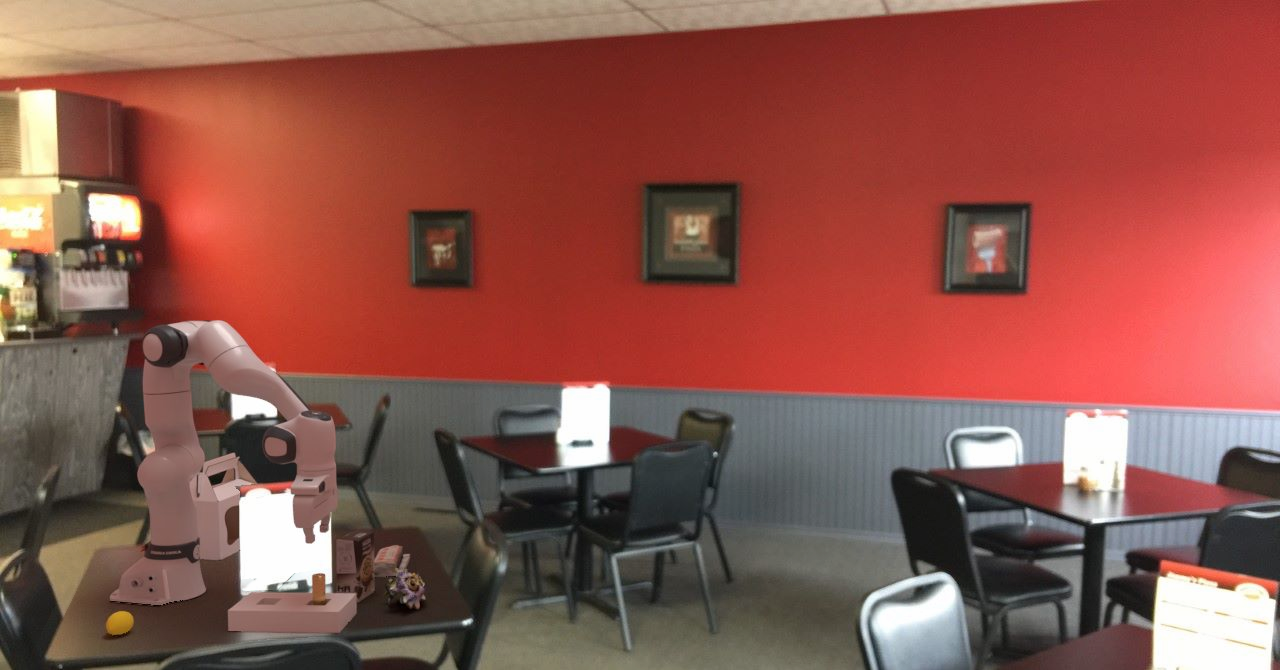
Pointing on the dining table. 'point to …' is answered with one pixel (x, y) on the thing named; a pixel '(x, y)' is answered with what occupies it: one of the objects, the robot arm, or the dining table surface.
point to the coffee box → (355, 564)
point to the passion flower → (406, 588)
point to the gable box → (219, 506)
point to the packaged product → (390, 561)
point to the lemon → (119, 623)
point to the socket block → (291, 613)
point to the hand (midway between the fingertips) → (317, 537)
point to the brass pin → (318, 589)
